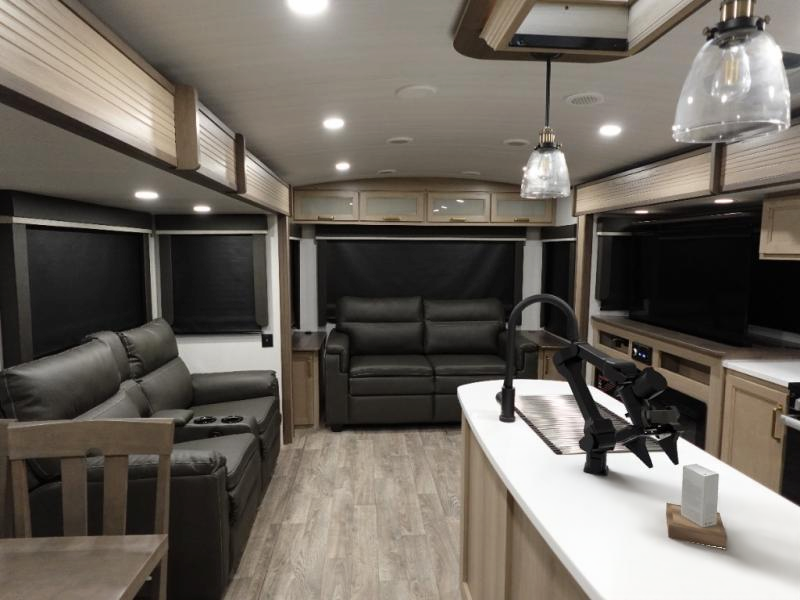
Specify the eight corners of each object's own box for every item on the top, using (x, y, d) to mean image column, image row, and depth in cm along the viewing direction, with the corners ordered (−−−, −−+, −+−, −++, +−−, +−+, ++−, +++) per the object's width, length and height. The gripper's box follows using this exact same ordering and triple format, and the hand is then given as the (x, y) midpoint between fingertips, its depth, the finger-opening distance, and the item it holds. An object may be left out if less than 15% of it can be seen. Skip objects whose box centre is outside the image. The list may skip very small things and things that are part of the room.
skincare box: (717, 525, 110) (720, 473, 109) (702, 528, 109) (705, 476, 108) (693, 511, 116) (696, 462, 115) (679, 514, 115) (682, 465, 114)
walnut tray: (665, 514, 121) (666, 502, 121) (718, 524, 116) (719, 512, 116) (668, 537, 111) (669, 524, 111) (726, 549, 106) (726, 536, 106)
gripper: (634, 395, 119) (664, 459, 111) (685, 393, 127) (716, 453, 119) (603, 411, 128) (628, 473, 120) (652, 409, 135) (679, 466, 127)
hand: (664, 466), depth 121 cm, fingers open, 9 cm apart
